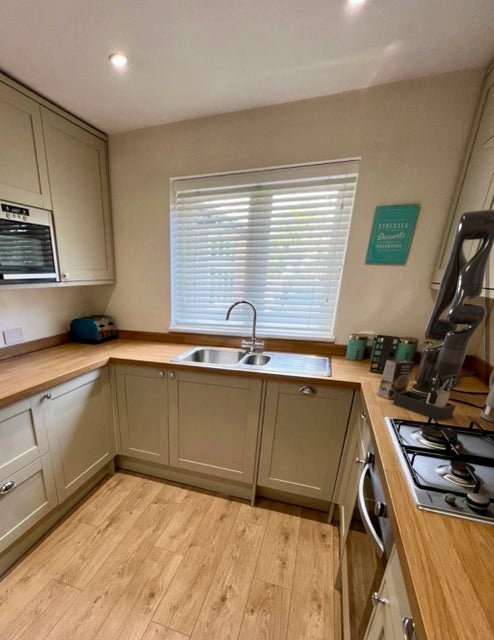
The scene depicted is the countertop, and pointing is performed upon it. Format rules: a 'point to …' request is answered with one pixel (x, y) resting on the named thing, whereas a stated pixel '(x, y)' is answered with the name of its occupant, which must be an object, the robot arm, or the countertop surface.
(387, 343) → the holder
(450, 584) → the countertop surface
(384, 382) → the coffee box
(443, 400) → the cup
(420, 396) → the cup holder
